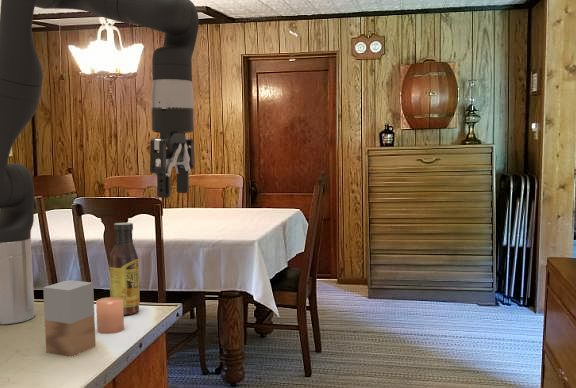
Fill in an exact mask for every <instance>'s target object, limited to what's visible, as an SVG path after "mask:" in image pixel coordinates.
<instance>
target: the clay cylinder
mask: <svg viewBox="0 0 576 388" xmlns="http://www.w3.org/2000/svg"><path fill="white" fill-rule="evenodd" d="M95 304H96V305H95V306H96V331H97V333H99V334H104V335H105V334H106V335H107V334H109V335H110V334H117V333H119V332H122V331H124V329H125V320H124V319H125V317H124V316H125V315H124V312H123V299H122V298H119V297H110V296H109V297H101V298H100V299H96V300H95Z"/></svg>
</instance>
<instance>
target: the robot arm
mask: <svg viewBox="0 0 576 388" xmlns="http://www.w3.org/2000/svg"><path fill="white" fill-rule="evenodd" d="M35 8H39V9H45V10H46V9H48V10H50V9H53V10H79V11H84V12H88V13H91V14H93V15H95V16H98V17H102V18H103V19H108V20H111V21H116V22H120V23H124V24H128V25H132V26H133V25H135V26H137V25H138V26H140V27H144V28H148V29H151V30H155V31H157V32H160V33H161V32H162V33H164V34H165V35H164V38H163V39H164V40H163V45H162V46H161V47H158V48H155V50H154V51H153V53H152V57H151V58H152V59H151V60H152V63H151V64H152V86H151V95H150V96H151V98H150V99H151V102H150V103H151V131H152V132H153V133H159V138H151V139H150V141H149V142H150V143H149V144H150V145H149V146H150V148H149V149H150V152H149V158H150V159H149V171H150V173H151V174H154V176H155V177H156V188H157V189H156V190H157V191H156V192H157V197H158V198H159V199H161V198H162V199H168V198H170V197H171V173H172V169H173V167H175V171H176V175H175V177H176V192H177V193H178V194H187V193H189V192H190V189H189V188H190V187H189V186H190V185H189V184H190V182H189V181H190V179H189V178H190V177H189V175H190V173H191V170H194V167H195V161H194V160H195V158H194V157H195V156H194V153H195V152H194V139H193V138H188V137H186V134H190V133H193V132H194V128H195V127H194V126H195V125H194V120H195V119H194V117H195V116H194V110H195V109H194V88H193V82H192V81H193V80H192V79H193V78H192V77H193V75H192V74H193V73H192V72H193V69H192V66H193V63H192V61H193V60H192V59H193V55H194V50H195V46H196V43H197V38H198V37H197V36H198V32H199V21H200V20H199V19H200V18H199V13H198V9H197V7H196V5H195V4H194V2H192V0H0V325H9V324H11V325H13V324H17V323H21V322H27V321H29V320H32V319H33V318H34V317H35V295H34V292H35V291H34V274H33V255H32V228H33V225H34V221H35V220H34V219H35V218H34V217H35V216H34V215H35V210H34V208H35V187H34V186H35V185H34V181H33V177H32V174H31V172H30V170H29V169H28V168H27V167H26V166H25V165H23V164H21V163H9V162H8V161H9V157H10V154H11V150H12V148H13V145H14V143H15V142H16V140H17V138H18V137H19V135H21V133H22V132H23V130H24V129H25V128H26V126H28V124H29V122H30V121H31V120H32V118H33V117H34V115H35V114H36V112H37V109H38V106H39V104H40V103H39V102H40V98H41V92H42V87H43V86H42V85H43V80H44V76H43V68H42V65H41V61H40V59H39V55H38V53H37V49H36V46H35V42H34V39H33V32H32V31H33V19H34V13H35V12H34V11H35Z"/></svg>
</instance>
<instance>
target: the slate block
mask: <svg viewBox="0 0 576 388" xmlns="http://www.w3.org/2000/svg"><path fill="white" fill-rule="evenodd" d="M42 289H43V291H42V292H43V306H44V307H43V308H44V309H43V310H44V321H45V320H47V321H54V322H61V323H68V324H72V323H74V322H77V321H79V320H82V319H85V318H87V317H90V316H92V315H94V316H95V296H94V294H95V293H94V282H91V281H90V282H88V281H82V280H81V281H79V280H72V279H71V280H70V279H67V280H64V281H61V282H57V283H54V284H50V285H47V286H44V287H42Z"/></svg>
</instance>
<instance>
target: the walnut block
mask: <svg viewBox="0 0 576 388" xmlns="http://www.w3.org/2000/svg"><path fill="white" fill-rule="evenodd" d="M95 324H96V323H95V314H94V315H92V316H90V317H87V318H85V319H82V320H79V321H77V322H74V323H72V324H68V323H61V322H54V321H47V320H45V319H44V331H45V332H44V333H45V353H47V354H52V355H59V356H64V357H69V356H71V357H70V358H73V357H75V356H74V355H76V356H78V355H80V354H82V353H84V352H86V351H89V350H91V349H93V348H95V347H96V345H97V344H96V326H95ZM79 353H80V354H79ZM77 354H78V355H77ZM72 356H73V357H72Z"/></svg>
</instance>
